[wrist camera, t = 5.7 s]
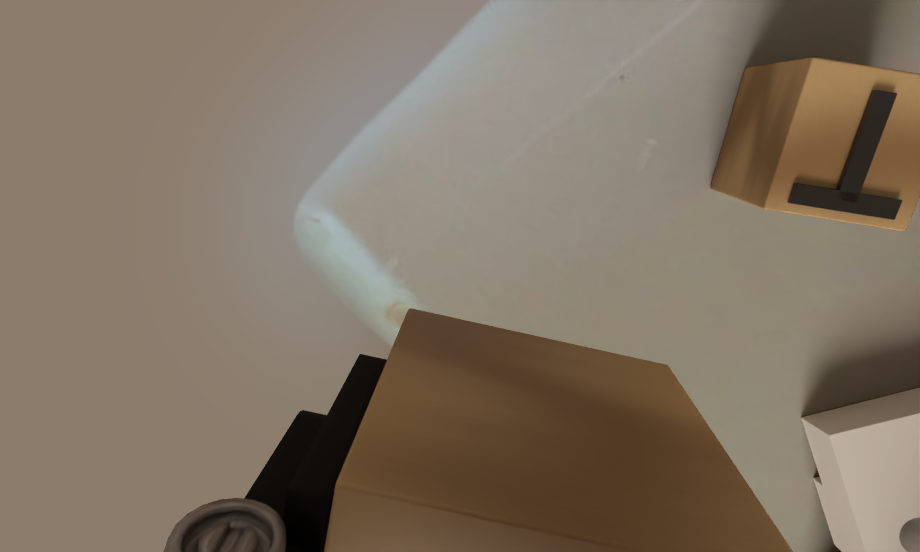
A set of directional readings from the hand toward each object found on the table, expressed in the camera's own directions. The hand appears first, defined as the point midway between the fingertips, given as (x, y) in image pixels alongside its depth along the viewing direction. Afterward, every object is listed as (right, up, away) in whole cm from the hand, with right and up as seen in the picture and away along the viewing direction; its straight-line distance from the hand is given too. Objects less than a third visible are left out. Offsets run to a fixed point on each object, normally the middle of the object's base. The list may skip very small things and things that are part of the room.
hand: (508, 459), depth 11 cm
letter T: (+13, +9, +12) cm, 20 cm away
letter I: (0, 0, 0) cm, 0 cm away
